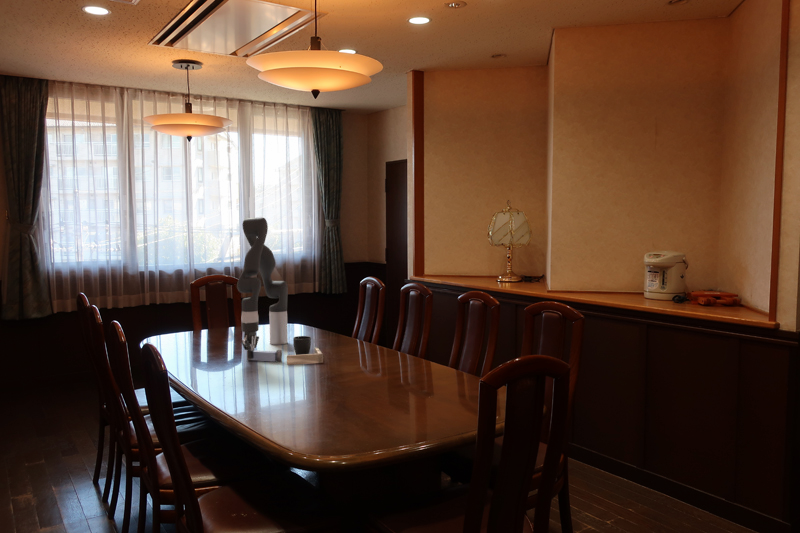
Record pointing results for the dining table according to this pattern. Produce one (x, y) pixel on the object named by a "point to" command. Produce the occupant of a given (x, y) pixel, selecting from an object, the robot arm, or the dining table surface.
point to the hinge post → (279, 355)
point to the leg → (263, 355)
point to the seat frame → (305, 358)
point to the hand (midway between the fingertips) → (250, 358)
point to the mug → (302, 344)
